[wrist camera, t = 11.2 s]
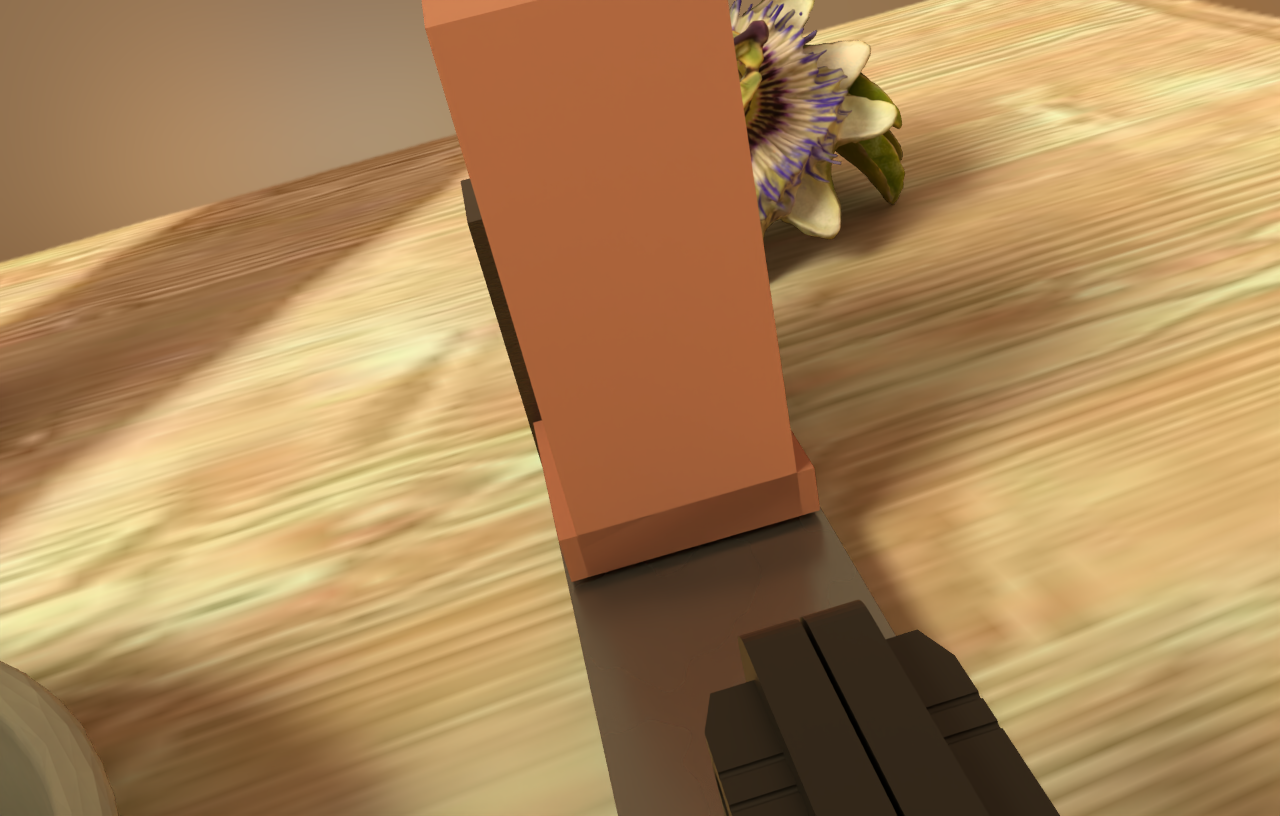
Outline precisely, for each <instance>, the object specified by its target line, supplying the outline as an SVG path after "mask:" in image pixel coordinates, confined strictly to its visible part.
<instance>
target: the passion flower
mask: <svg viewBox="0 0 1280 816" xmlns="http://www.w3.org/2000/svg"><path fill="white" fill-rule="evenodd" d="M814 2H815V0H762V1H761V3H759V4H758V5H757V6H756V7H754V8H752V4H751V5H750V7H749V8H748V11H747V12H745V13H744V14H743V16H742V17H739V11H740V6H741V0H736V2H735V1H734V3H733V4H732V6H731V8H730V9H729V12H730V19H731V26H732V32H733V39H734V46H735V53H736V60H737V67H738V73H739V80H740V87H741V94H742V101H743V108H744V114H745V121H746V128H747V135H748V142H749V149H750V155H751V162H752V169H753V176H754V183H755V190H756V196H757V203H758V210H759V217H760V224H761V231H762V237H763V241H764V234H765V231H766V229H767V228H768V227H769V226H770V225H771V224H772V223H773V222H774V221H777V220H779V219H781V220H782V221H784V222H786V223H791V224H792V225H794V226H796V227H797V228H798V229H799V230H800V231H801V232H802V233H804V234H806V235H810V236H813V237H821V238H825V239H833V238H835V236H836V235H837V234H838V232H839V230H840V227H841V205H840V202H839V199H838V196H837V194H836V192H835V190H834V185H833V181H832V175H831V165H832V163H833V164H839V165H841V162H838V161H833V160H832V159H833V158H834V157H837V156H838V155H836V154H834V152H835V151H836V152H837V153H838V154H840V155H841V156H842V157H844V158H845V159H846V160H847V161H849V162H850V163H852V164H853V165H854V166H856V167H857V168H858V169H859V170H860V171H861V172H862V173H864V174H865V176H866V177H867V178H868V179H869V180H870V182H871V183H872V184H873V185H874V186H875V187H876V188H877V190H878V191H879V192H880V193H881V195H882V196H883V198H884V199H885V200H886V201H887V202H890V203H891V204H892V205H894V203H895V202H896V201H897V199H898V197H899V195H900V193H901V190H902V189H903V185H904V183H903V180H904V176H905V171H904V168H903V167H902V165H901V163H900V161H901V160H902V157H903V152H902V149H901V145H900V144H899V143H898V141H897V139H896V138H895V137H894V135H893V134H892V133H891V131H890V130H889V129H890V128H891V127H892V126H893V127H895V128H897V129H900V128H901V126H902V120H901V115H900V112H899V109H898V108H897V106H896V105H895V104H894V103H893V102H892V100H891V99H890V98H889V96H888V95H887V94H886V93H885V92H884V91H883V90H882V89H881V88H880V87H879V86H878V85H876V84H875V83H873V82H871V81H870V80H869V79H868V78H867V77H866V76H865V75H863V74H862V73H861V71H862V69H863V68H864V67H865V65H866V63H867V61H868V59H869V57H870V54H871V47H870V45H868V44H866V43H865V42H862V41H859V40H854V41H838V42H834V43H823V44H819V45H805V44H806V43H808V42H809V41H811V40H812V39H813V38H814V37H815V35H816V32H817V30H815V31H813V32H812V33H811V34H809V35H808V36H806V37H804V38H803V37H802V33H803V30H804V28H803V27H804V25H805V24H806V22H807V21H808V19H809V13H810V11H811V10H812V8H813V5H814ZM751 8H752V9H751Z"/></svg>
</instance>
